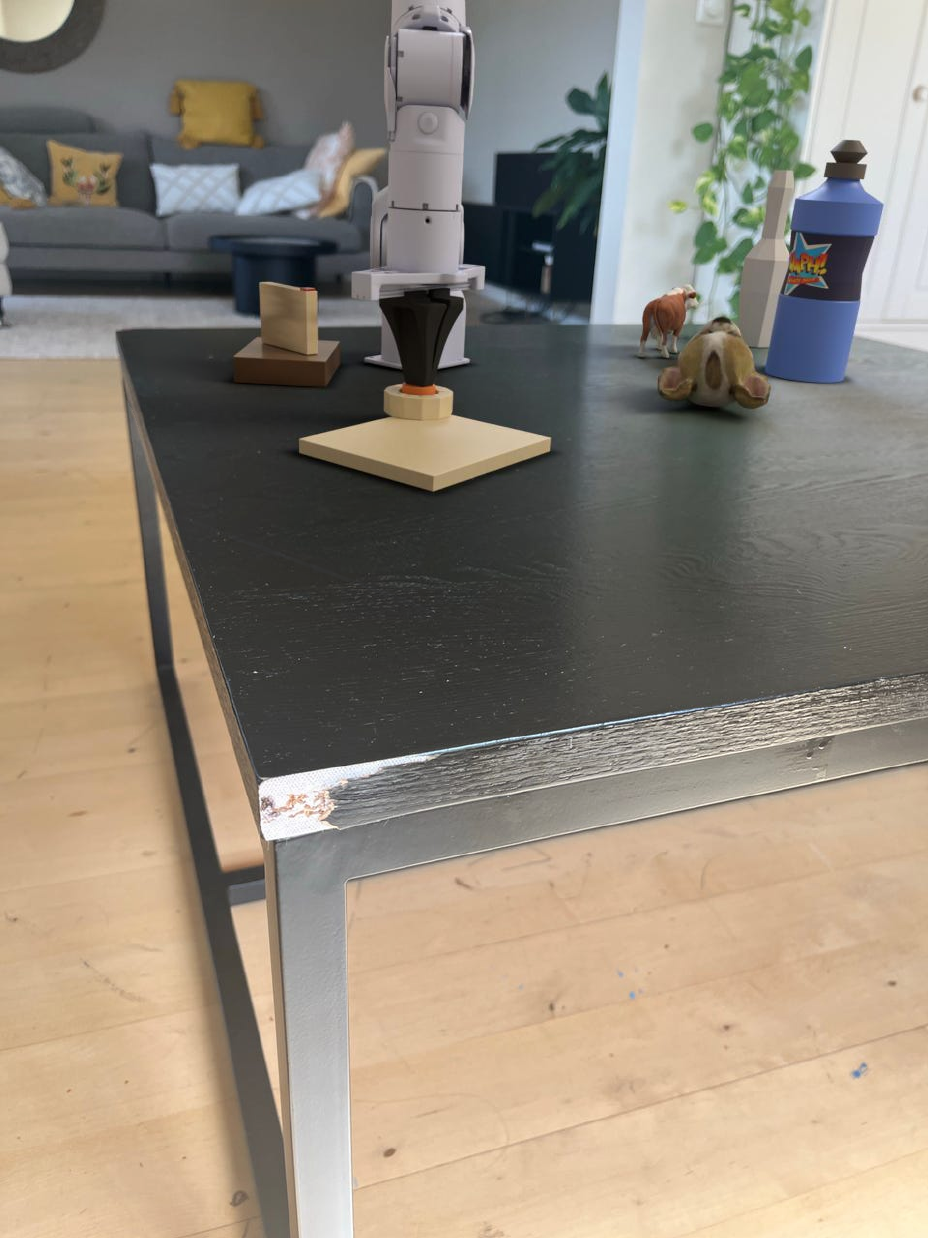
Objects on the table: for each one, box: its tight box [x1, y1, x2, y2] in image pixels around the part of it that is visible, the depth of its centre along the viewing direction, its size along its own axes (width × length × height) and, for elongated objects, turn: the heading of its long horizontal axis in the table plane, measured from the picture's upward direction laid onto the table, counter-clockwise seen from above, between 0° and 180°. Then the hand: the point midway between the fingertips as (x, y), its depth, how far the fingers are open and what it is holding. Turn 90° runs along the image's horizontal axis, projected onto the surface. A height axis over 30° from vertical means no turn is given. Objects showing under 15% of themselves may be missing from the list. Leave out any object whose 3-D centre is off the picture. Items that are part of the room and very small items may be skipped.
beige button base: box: [298, 383, 552, 492], centre depth 75 cm, size 16×15×3 cm
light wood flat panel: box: [258, 281, 319, 355], centre depth 97 cm, size 8×1×6 cm, turn 45°
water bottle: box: [764, 139, 885, 384], centre depth 108 cm, size 9×9×25 cm
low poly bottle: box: [737, 169, 795, 348], centre depth 128 cm, size 6×6×22 cm
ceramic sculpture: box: [657, 316, 772, 410], centre depth 94 cm, size 11×9×15 cm
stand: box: [232, 336, 341, 388], centre depth 98 cm, size 12×9×2 cm
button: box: [401, 381, 437, 396], centre depth 81 cm, size 3×3×2 cm
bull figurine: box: [637, 283, 700, 359], centre depth 120 cm, size 4×13×8 cm, turn 148°
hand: (419, 384), depth 80 cm, fingers closed, pressing on button
